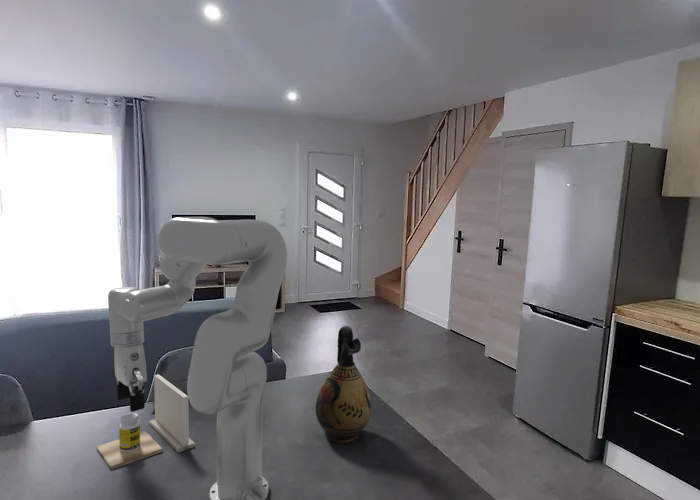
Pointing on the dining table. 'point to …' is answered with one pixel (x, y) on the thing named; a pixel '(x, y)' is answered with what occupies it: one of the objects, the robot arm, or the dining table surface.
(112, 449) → the coaster
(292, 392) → the dining table surface
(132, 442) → the supplement bottle
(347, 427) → the ceramic jug
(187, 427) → the screen
